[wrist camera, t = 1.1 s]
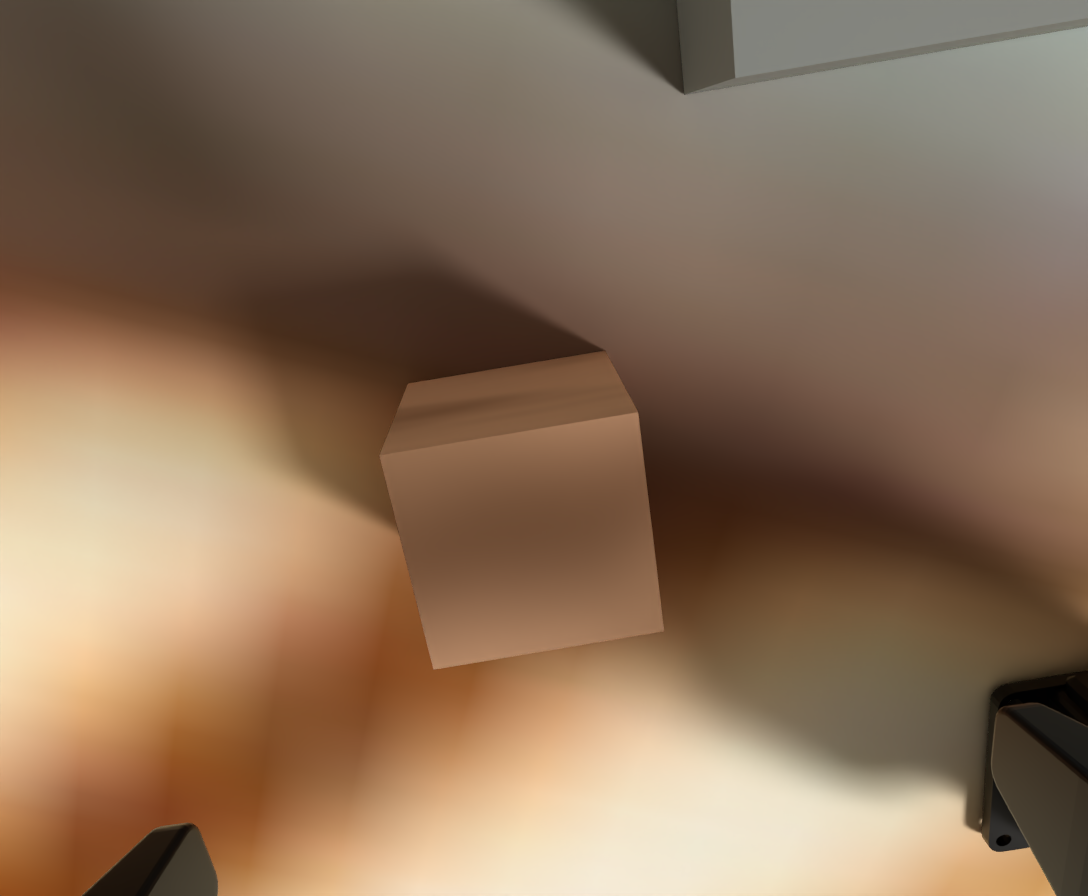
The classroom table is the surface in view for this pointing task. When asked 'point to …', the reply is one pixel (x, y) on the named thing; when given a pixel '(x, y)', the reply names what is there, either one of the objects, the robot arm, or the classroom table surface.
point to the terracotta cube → (523, 509)
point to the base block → (845, 33)
